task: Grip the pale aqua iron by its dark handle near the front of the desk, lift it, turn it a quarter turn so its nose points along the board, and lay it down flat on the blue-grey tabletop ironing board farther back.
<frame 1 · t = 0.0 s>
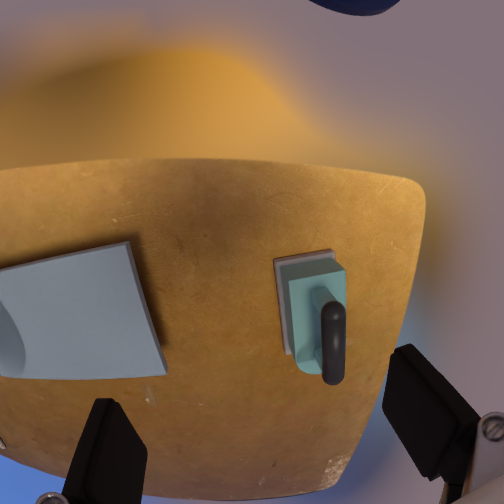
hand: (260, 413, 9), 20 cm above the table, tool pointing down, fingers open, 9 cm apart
iron: (307, 303, 31), on the table
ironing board: (54, 307, 28), on the table
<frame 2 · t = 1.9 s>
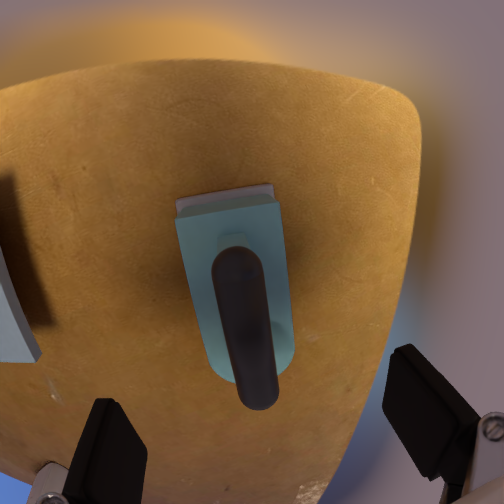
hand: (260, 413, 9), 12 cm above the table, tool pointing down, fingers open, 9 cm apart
iron: (236, 271, 20), on the table
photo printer: (54, 472, 27), on the table
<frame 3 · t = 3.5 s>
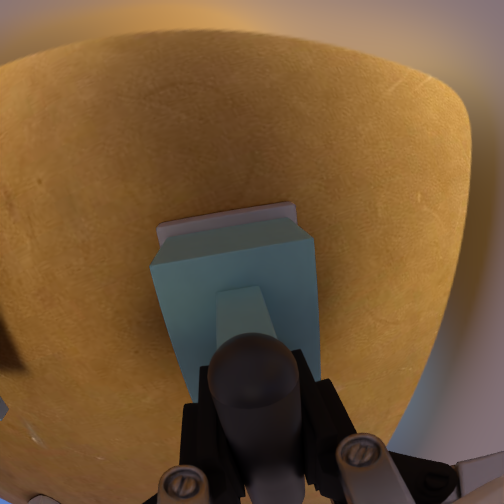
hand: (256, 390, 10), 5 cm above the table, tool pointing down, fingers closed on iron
iron: (243, 318, 15), on the table, touching gripper
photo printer: (46, 502, 22), on the table
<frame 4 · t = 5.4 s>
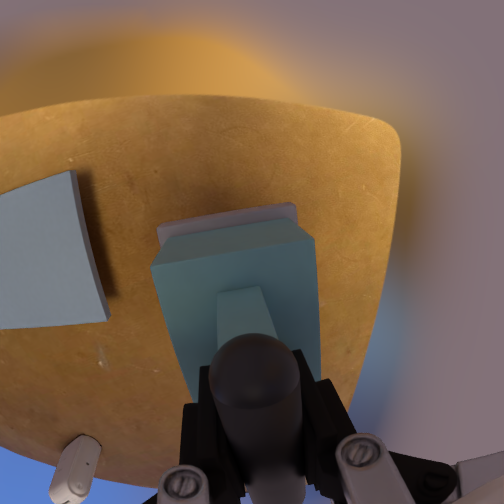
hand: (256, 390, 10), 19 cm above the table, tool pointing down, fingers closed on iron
iron: (243, 319, 15), point 14 cm above the table, touching gripper
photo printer: (82, 446, 34), on the table
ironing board: (12, 255, 25), on the table
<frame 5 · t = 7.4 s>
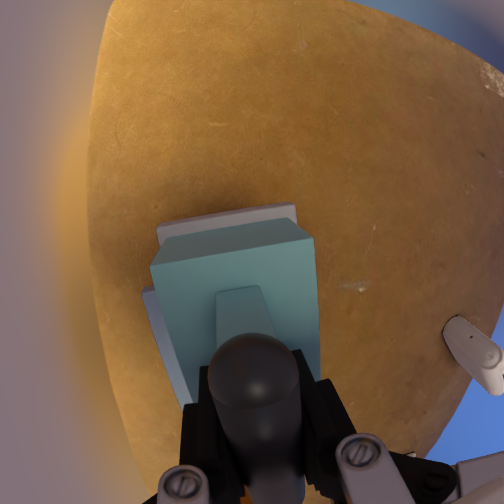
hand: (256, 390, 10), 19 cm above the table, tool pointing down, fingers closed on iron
iron: (243, 319, 15), point 14 cm above the table, touching gripper
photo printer: (455, 337, 36), on the table
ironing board: (238, 368, 32), on the table
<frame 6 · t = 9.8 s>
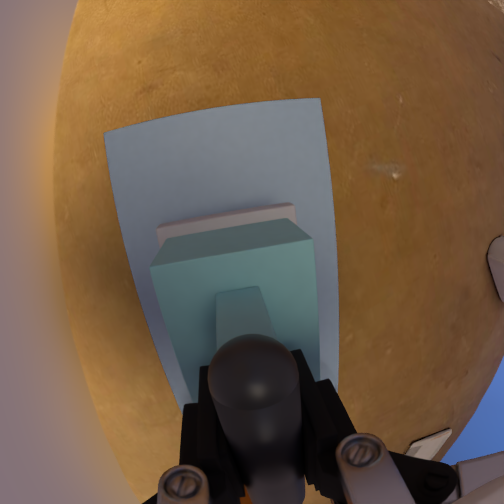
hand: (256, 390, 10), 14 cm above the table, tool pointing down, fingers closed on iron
iron: (243, 319, 15), point 9 cm above the table, touching gripper
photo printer: (499, 268, 28), on the table
grooming comb: (411, 463, 39), on the table
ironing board: (238, 286, 24), on the table
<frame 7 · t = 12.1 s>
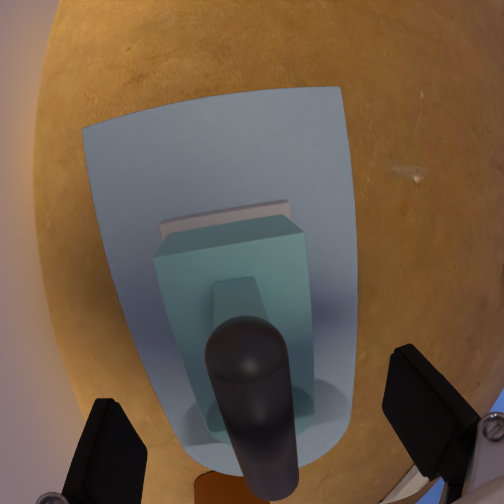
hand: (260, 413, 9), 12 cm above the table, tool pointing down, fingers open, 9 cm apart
brown cup: (230, 488, 29), on the table
iron: (241, 312, 16), point 5 cm above the table, touching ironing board
grooming comb: (418, 474, 36), on the table
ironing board: (242, 304, 21), on the table
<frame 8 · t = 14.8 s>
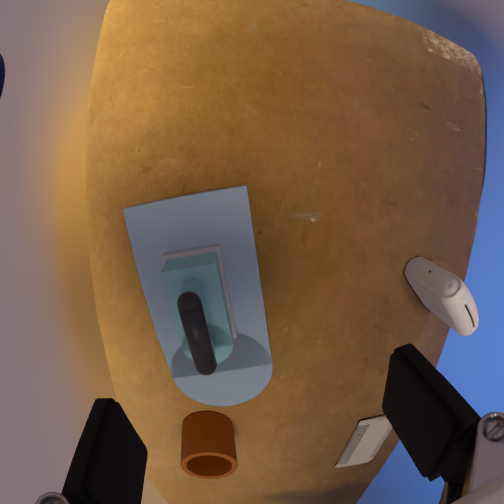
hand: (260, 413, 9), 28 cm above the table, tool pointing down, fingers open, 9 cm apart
brown cup: (208, 431, 46), on the table
iron: (201, 295, 32), point 5 cm above the table, touching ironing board
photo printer: (420, 281, 42), on the table
grooming comb: (365, 441, 52), on the table
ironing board: (207, 293, 38), on the table
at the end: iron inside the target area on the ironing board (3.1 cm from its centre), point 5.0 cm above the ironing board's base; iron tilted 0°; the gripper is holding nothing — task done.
